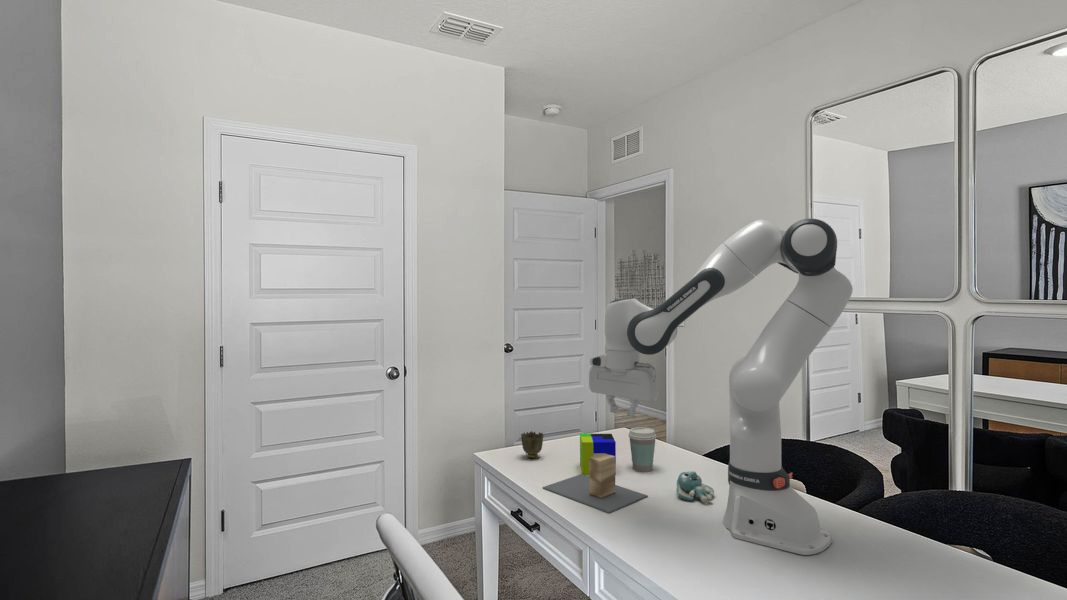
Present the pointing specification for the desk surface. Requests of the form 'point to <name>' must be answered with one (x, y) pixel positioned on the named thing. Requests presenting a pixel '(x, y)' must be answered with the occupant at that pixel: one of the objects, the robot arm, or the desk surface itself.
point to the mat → (579, 492)
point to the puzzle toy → (595, 448)
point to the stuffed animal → (693, 487)
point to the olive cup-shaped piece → (532, 444)
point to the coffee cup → (642, 448)
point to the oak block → (602, 475)
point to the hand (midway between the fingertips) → (622, 413)
